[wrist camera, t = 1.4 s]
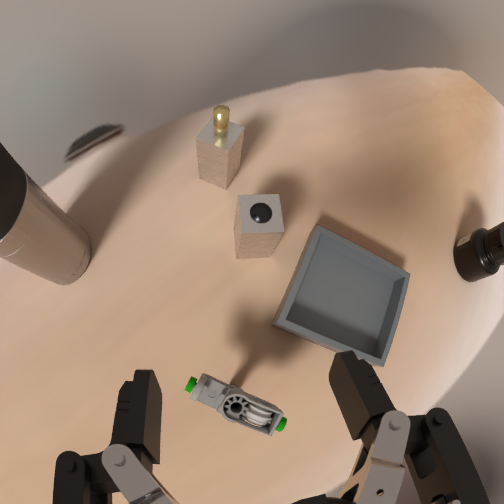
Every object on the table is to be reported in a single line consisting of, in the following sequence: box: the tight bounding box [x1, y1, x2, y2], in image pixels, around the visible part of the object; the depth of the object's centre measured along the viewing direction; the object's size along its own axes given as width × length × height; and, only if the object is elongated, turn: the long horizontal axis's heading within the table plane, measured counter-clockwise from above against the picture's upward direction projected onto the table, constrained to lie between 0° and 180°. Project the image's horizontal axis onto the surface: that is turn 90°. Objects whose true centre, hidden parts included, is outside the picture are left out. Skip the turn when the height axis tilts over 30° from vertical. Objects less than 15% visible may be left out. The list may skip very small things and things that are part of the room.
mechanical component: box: [185, 373, 287, 436], centre depth 28 cm, size 3×10×10 cm, turn 64°
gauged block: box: [196, 105, 245, 190], centre depth 35 cm, size 4×4×14 cm
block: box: [234, 194, 284, 259], centre depth 34 cm, size 4×4×10 cm
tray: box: [272, 225, 410, 367], centre depth 36 cm, size 16×14×4 cm
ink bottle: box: [454, 222, 504, 282], centre depth 37 cm, size 10×9×12 cm
